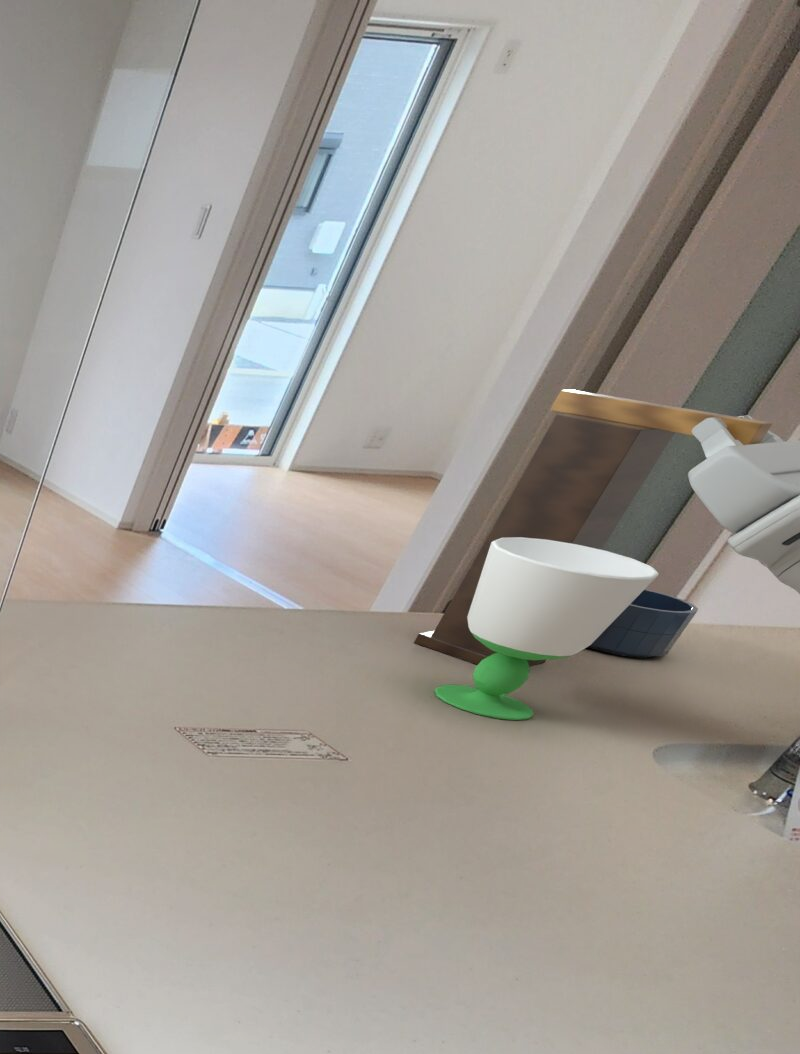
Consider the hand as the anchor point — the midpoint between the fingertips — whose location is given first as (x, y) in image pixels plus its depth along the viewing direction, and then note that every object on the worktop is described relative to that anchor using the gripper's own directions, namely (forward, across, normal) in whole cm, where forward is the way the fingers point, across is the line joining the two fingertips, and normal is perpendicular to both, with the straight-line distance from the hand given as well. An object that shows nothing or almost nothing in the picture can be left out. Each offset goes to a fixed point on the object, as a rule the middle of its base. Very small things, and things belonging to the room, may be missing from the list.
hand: (718, 421), depth 112 cm
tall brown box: (-7, 0, +28) cm, 29 cm away
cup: (-15, +18, +23) cm, 33 cm away
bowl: (-10, -22, +26) cm, 35 cm away
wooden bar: (+4, 0, +4) cm, 5 cm away
